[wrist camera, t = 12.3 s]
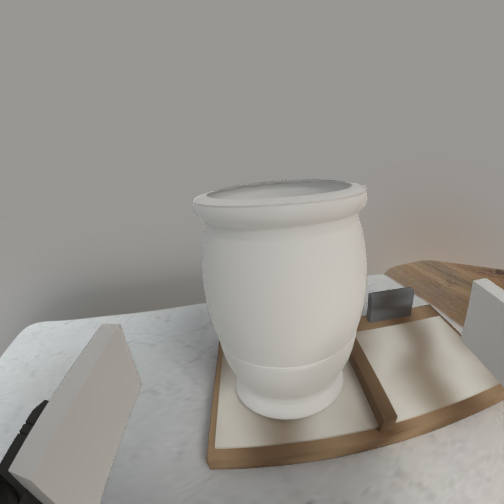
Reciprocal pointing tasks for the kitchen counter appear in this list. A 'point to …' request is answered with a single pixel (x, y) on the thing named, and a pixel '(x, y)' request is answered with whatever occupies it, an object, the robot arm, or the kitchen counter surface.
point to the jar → (285, 288)
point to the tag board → (363, 393)
